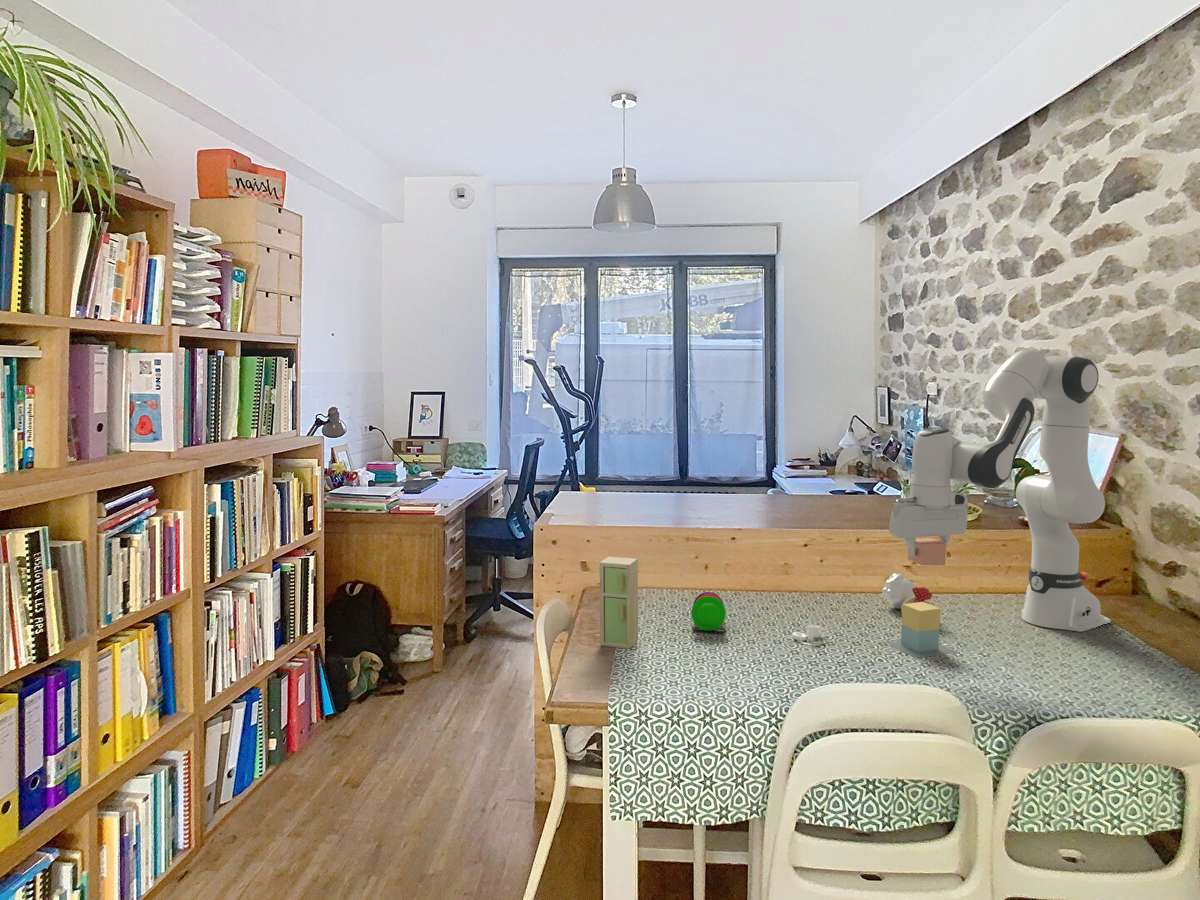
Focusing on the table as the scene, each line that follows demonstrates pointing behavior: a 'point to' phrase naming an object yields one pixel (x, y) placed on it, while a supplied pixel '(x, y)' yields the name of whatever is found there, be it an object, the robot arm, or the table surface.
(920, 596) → the bird rattle
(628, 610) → the toy refrigerator
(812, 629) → the teacup and saucer
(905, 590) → the ghost figurine
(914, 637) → the teal brick
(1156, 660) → the table surface
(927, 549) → the terracotta brick
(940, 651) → the build plate
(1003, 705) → the table surface
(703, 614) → the multicoloured piece
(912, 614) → the ochre brick
